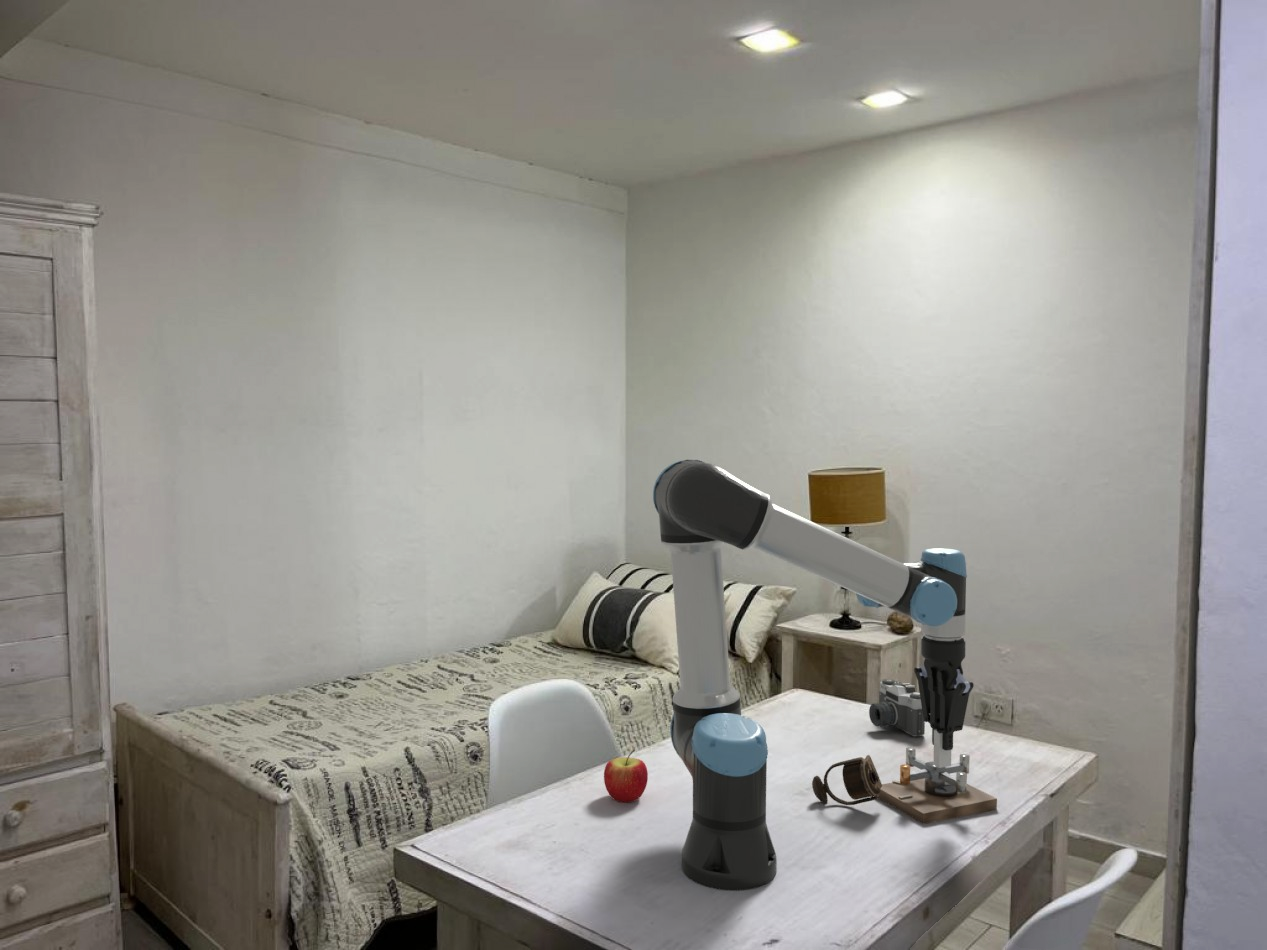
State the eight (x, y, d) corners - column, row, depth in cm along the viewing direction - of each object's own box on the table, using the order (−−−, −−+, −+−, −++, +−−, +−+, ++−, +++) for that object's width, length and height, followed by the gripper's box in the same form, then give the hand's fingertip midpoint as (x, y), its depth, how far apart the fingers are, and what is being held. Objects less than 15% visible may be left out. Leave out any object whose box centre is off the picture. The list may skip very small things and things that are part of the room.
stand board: (923, 824, 173) (923, 811, 173) (873, 795, 186) (873, 783, 186) (996, 809, 180) (997, 797, 179) (943, 782, 193) (944, 770, 192)
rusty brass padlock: (883, 820, 175) (884, 765, 174) (811, 814, 177) (811, 760, 177) (881, 804, 182) (882, 752, 181) (812, 798, 184) (812, 747, 184)
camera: (855, 718, 233) (855, 677, 232) (892, 714, 236) (893, 674, 235) (890, 739, 218) (891, 695, 217) (929, 735, 221) (930, 692, 220)
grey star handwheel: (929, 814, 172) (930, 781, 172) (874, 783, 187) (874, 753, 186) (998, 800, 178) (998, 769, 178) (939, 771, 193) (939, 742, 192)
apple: (639, 811, 178) (640, 758, 178) (596, 805, 181) (596, 752, 181) (653, 794, 186) (653, 743, 186) (612, 789, 189) (612, 738, 188)
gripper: (986, 641, 168) (984, 774, 170) (935, 626, 180) (934, 750, 182) (952, 646, 165) (951, 781, 167) (902, 630, 177) (901, 757, 179)
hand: (942, 765), depth 174 cm, fingers closed
